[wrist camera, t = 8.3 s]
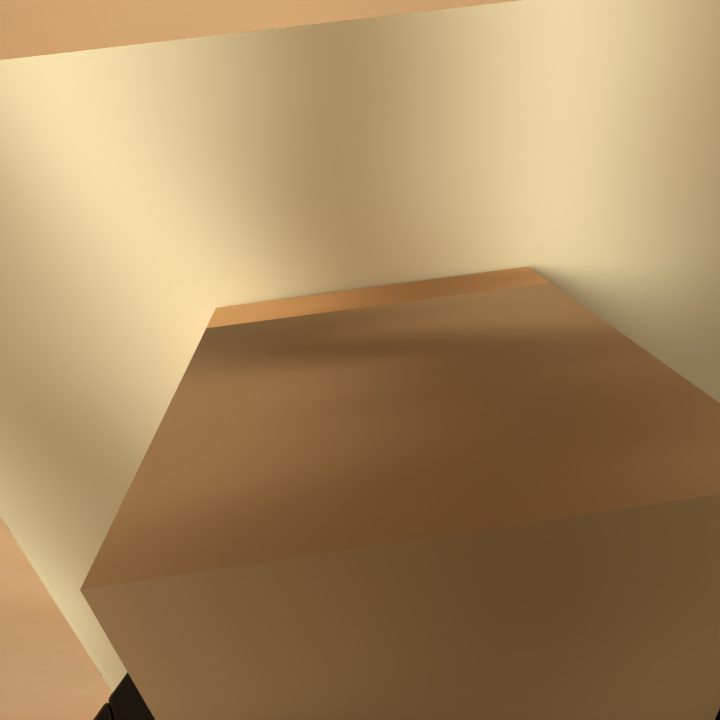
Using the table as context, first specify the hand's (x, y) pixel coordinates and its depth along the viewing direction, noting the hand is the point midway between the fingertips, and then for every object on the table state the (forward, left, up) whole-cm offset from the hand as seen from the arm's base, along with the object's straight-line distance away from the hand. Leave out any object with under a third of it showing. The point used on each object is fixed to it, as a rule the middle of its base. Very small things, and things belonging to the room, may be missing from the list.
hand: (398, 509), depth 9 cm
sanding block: (0, 0, -1) cm, 1 cm away
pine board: (0, -3, -2) cm, 4 cm away
